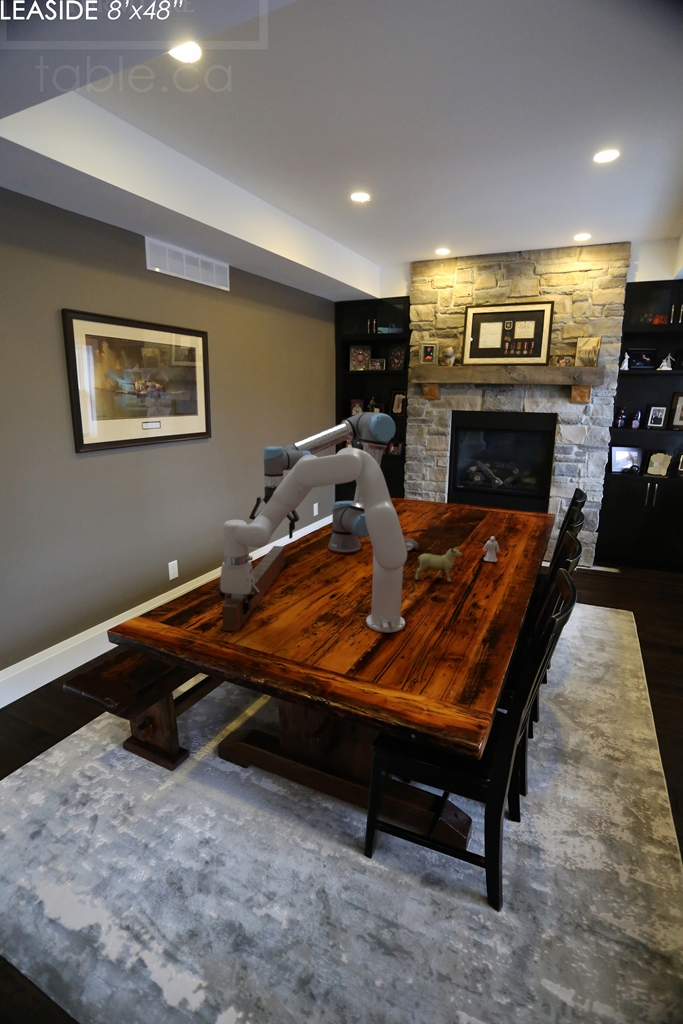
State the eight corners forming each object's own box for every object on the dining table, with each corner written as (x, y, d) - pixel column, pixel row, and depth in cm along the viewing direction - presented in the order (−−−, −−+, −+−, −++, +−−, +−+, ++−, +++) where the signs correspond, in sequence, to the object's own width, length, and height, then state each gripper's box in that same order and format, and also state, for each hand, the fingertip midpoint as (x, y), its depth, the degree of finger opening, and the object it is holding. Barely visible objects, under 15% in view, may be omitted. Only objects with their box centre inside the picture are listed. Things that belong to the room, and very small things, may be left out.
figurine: (481, 562, 222) (483, 536, 219) (482, 556, 230) (484, 531, 227) (499, 564, 220) (501, 538, 217) (499, 558, 228) (501, 533, 225)
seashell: (406, 557, 238) (396, 544, 238) (411, 550, 242) (401, 537, 241) (417, 552, 232) (406, 539, 232) (422, 545, 236) (412, 532, 235)
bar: (237, 631, 156) (236, 607, 154) (223, 630, 156) (221, 605, 154) (285, 565, 215) (284, 546, 212) (274, 564, 215) (274, 545, 213)
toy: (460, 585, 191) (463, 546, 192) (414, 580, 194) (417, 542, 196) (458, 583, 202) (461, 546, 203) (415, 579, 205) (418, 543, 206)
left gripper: (306, 485, 201) (306, 535, 206) (246, 482, 204) (247, 532, 209) (302, 488, 194) (302, 541, 199) (240, 486, 197) (242, 537, 202)
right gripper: (265, 556, 161) (266, 609, 165) (214, 553, 163) (217, 605, 167) (258, 564, 153) (260, 619, 158) (205, 561, 156) (208, 615, 160)
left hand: (274, 536), depth 204 cm, fingers open, 13 cm apart
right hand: (238, 611), depth 162 cm, fingers closed on bar, 4 cm apart
